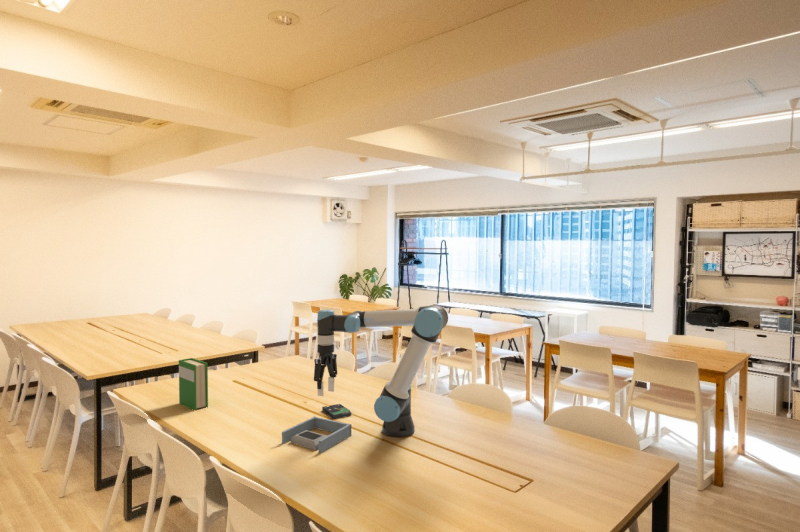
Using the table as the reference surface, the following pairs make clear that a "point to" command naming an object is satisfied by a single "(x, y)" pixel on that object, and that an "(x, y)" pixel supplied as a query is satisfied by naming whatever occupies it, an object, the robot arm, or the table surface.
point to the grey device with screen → (307, 439)
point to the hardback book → (193, 383)
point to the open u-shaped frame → (338, 428)
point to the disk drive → (336, 411)
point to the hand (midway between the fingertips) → (325, 393)
